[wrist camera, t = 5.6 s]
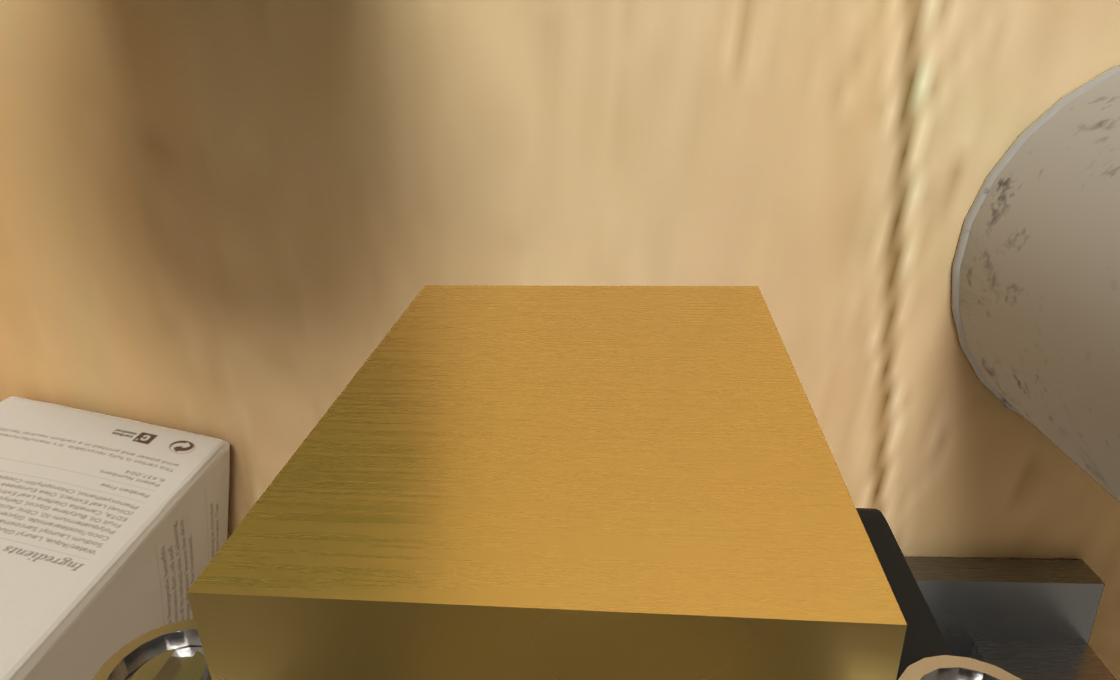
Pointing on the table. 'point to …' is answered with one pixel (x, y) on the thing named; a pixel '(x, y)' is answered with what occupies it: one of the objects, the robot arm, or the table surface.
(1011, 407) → the grey can
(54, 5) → the table surface
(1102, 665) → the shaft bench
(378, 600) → the coupler
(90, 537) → the skincare box
